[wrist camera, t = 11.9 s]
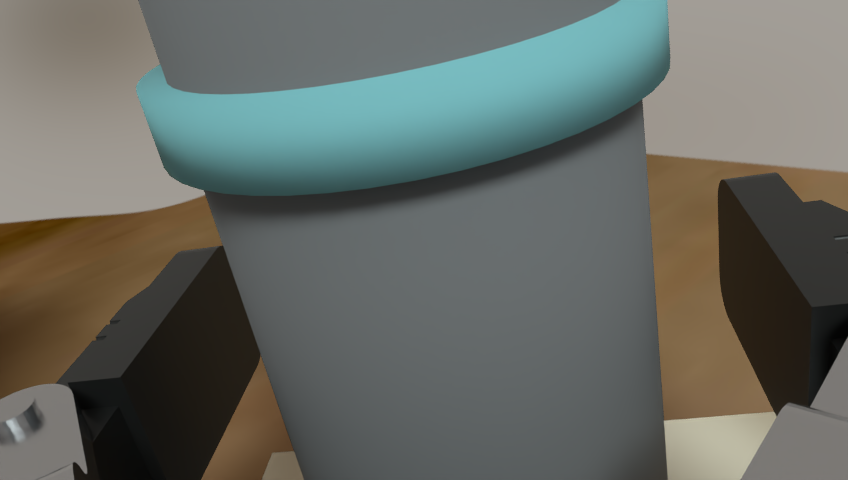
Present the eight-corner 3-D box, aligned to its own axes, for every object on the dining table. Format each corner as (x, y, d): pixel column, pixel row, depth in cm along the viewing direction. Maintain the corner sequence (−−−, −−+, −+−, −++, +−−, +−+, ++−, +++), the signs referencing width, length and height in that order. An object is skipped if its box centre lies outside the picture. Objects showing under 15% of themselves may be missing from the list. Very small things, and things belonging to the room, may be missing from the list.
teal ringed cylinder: (321, 704, 14) (-8, -113, 8) (528, 523, 17) (402, -179, 11) (544, 1004, 10) (204, -255, 4) (771, 695, 13) (785, -301, 7)
